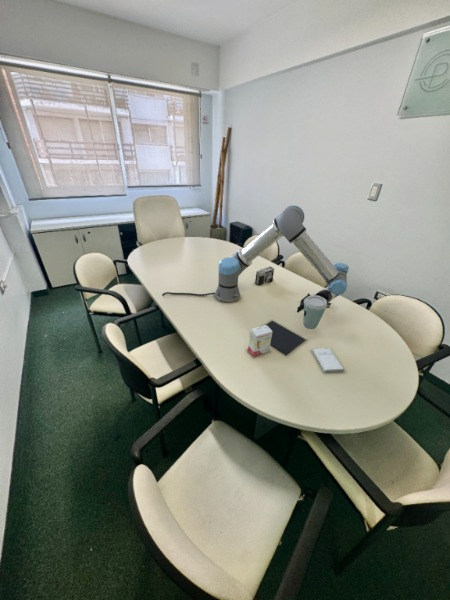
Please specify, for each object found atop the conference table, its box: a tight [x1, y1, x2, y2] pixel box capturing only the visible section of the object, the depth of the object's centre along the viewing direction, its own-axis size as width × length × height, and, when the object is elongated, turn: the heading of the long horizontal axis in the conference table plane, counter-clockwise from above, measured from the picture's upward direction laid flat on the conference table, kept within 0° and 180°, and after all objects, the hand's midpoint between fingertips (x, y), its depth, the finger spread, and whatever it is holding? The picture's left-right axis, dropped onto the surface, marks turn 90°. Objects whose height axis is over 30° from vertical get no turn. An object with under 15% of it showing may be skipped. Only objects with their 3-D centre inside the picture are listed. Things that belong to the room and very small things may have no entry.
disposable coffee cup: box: [302, 294, 328, 330], centre depth 116 cm, size 11×11×15 cm
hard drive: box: [312, 347, 345, 373], centre depth 104 cm, size 2×8×12 cm
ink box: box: [247, 324, 273, 358], centre depth 105 cm, size 9×5×12 cm, turn 116°
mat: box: [265, 320, 306, 356], centre depth 117 cm, size 20×16×1 cm
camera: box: [254, 266, 275, 287], centre depth 164 cm, size 14×8×10 cm, turn 130°
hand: (301, 311), depth 115 cm, fingers closed on disposable coffee cup, 3 cm apart
